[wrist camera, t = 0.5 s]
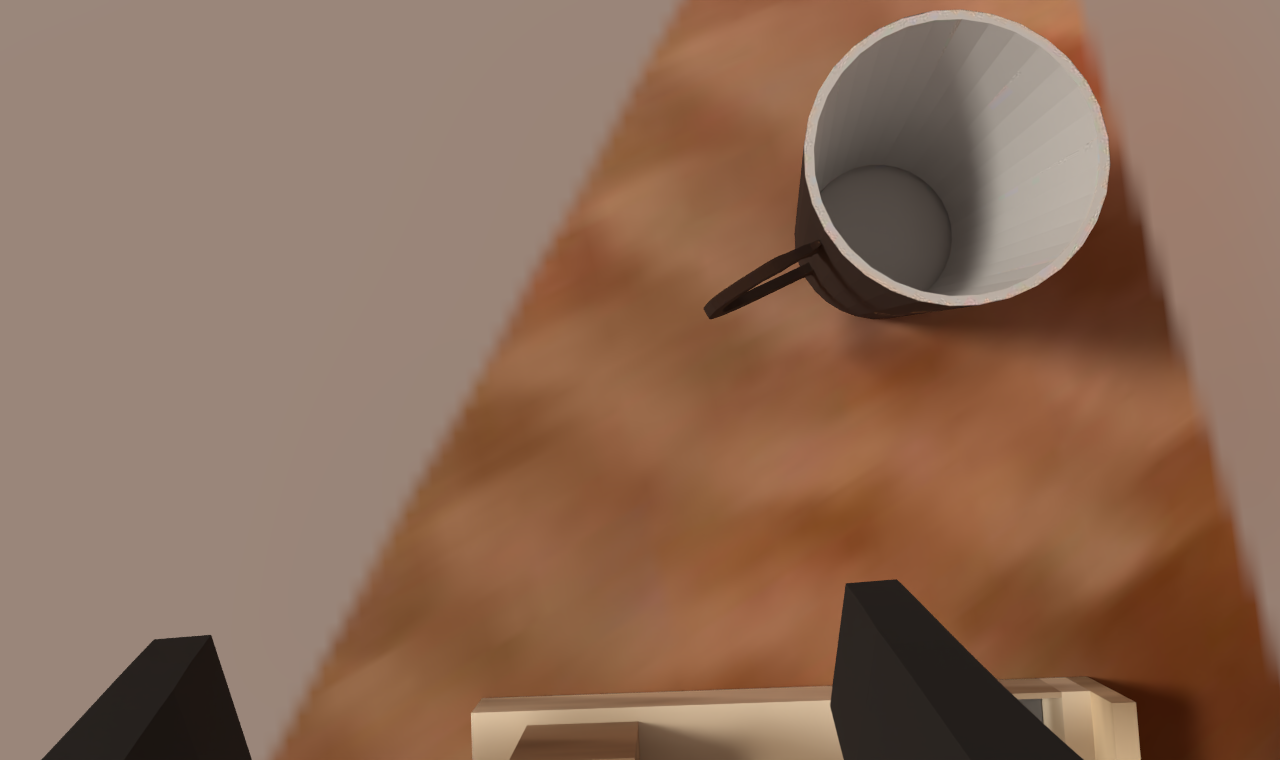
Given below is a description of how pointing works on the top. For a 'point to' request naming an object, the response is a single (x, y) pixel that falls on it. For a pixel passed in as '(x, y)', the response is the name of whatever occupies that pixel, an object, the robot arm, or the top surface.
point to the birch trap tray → (787, 720)
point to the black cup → (941, 171)
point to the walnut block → (579, 742)
